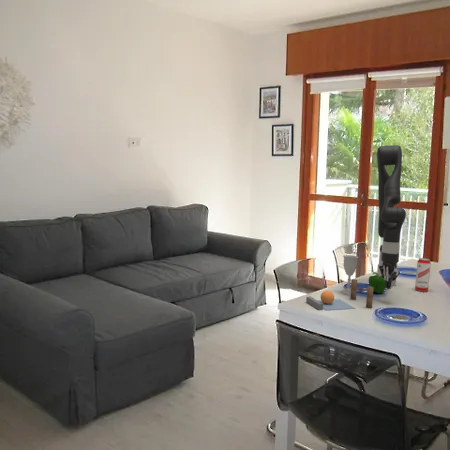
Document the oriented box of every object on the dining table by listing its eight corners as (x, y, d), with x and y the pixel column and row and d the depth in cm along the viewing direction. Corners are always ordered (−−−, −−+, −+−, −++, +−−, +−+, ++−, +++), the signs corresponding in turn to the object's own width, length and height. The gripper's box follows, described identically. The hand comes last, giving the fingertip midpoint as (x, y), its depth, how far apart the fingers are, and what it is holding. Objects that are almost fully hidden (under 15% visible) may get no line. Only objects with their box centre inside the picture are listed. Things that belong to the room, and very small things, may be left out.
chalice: (356, 292, 241) (359, 255, 239) (355, 295, 235) (358, 258, 233) (341, 290, 244) (343, 254, 241) (339, 294, 237) (342, 257, 235)
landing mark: (311, 301, 224) (311, 300, 224) (339, 299, 228) (339, 299, 228) (326, 310, 211) (326, 309, 211) (355, 308, 215) (355, 308, 215)
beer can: (429, 292, 245) (432, 260, 243) (416, 291, 246) (418, 259, 244) (427, 289, 251) (429, 258, 249) (413, 288, 252) (416, 257, 250)
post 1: (349, 298, 230) (350, 279, 229) (354, 298, 231) (355, 279, 230) (352, 299, 228) (353, 280, 227) (357, 299, 229) (358, 280, 227)
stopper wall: (306, 302, 222) (306, 296, 222) (310, 301, 223) (310, 296, 222) (318, 310, 211) (318, 304, 210) (322, 309, 211) (323, 304, 211)
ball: (325, 286, 223) (333, 295, 224) (315, 295, 222) (324, 304, 224) (330, 289, 217) (339, 298, 218) (320, 299, 216) (329, 308, 218)
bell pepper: (386, 291, 245) (388, 271, 243) (384, 295, 237) (386, 275, 236) (369, 289, 248) (370, 269, 247) (366, 293, 241) (368, 272, 239)
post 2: (364, 306, 218) (366, 286, 217) (369, 306, 219) (371, 286, 217) (368, 308, 215) (369, 288, 214) (373, 308, 216) (374, 287, 215)
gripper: (374, 248, 229) (372, 285, 232) (392, 254, 216) (389, 293, 219) (388, 248, 231) (386, 284, 234) (406, 253, 219) (404, 292, 221)
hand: (387, 288), depth 226 cm, fingers closed
